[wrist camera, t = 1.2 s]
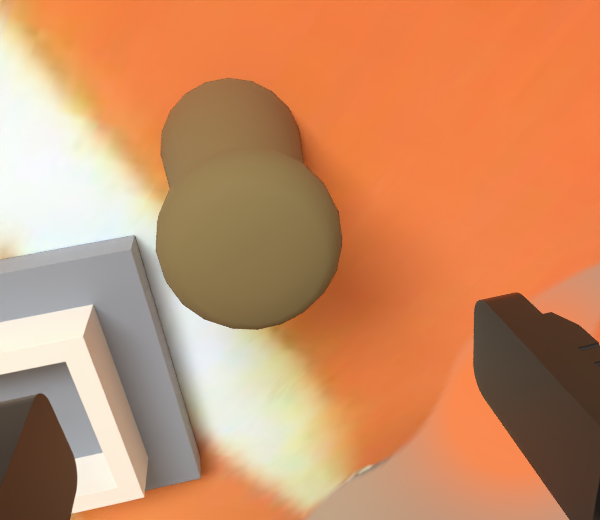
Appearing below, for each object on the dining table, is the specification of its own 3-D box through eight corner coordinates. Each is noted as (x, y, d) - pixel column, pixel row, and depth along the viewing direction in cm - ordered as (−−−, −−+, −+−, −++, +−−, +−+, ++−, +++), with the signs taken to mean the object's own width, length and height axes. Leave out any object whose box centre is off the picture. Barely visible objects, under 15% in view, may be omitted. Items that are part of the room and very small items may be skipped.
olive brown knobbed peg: (251, 239, 26) (283, 394, 16) (133, 171, 24) (88, 304, 14) (328, 131, 24) (416, 234, 15) (209, 46, 22) (219, 100, 12)
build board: (134, 235, 25) (124, 277, 21) (200, 457, 31) (200, 517, 28) (-196, 295, 24) (-265, 350, 20) (-56, 513, 30) (-90, 584, 27)
